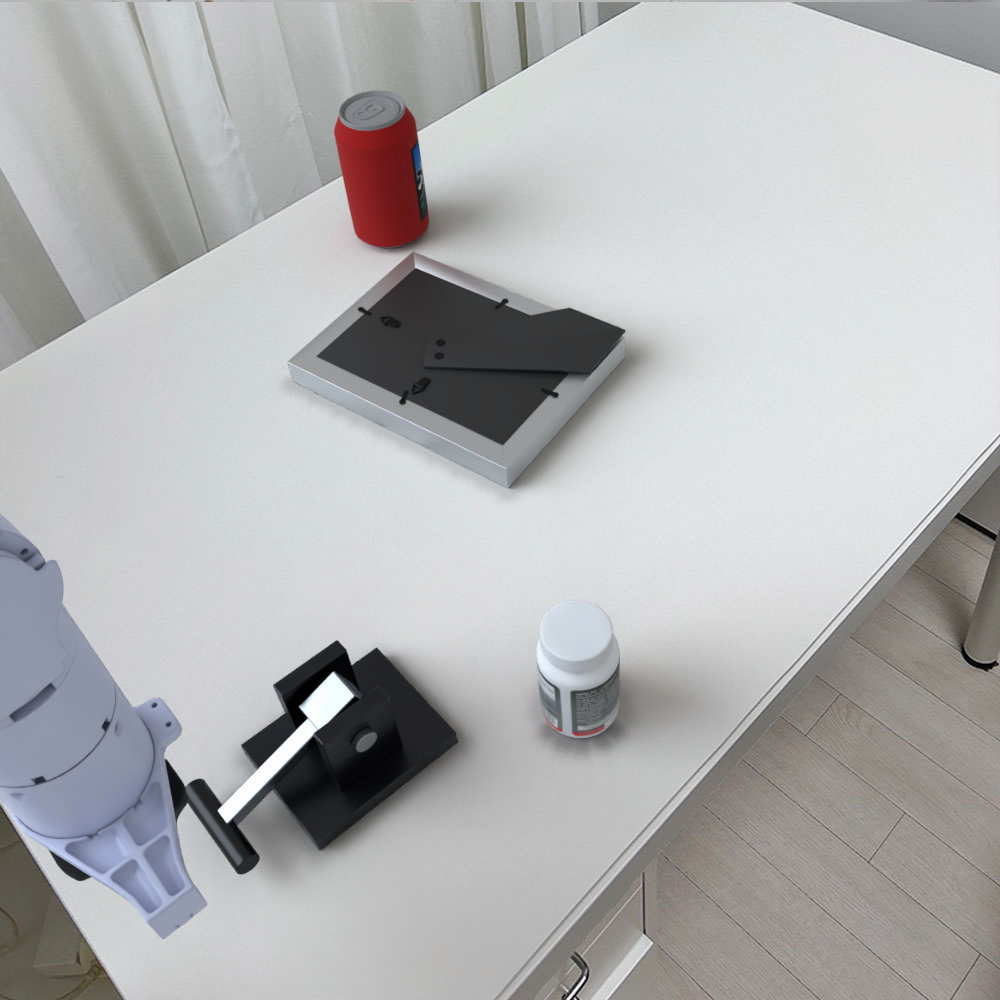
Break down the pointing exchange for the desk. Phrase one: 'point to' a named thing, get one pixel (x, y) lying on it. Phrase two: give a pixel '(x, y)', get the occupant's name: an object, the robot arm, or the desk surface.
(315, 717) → the tap lever
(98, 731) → the robot arm
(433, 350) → the picture frame
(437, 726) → the bracket
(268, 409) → the desk surface
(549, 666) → the pill bottle
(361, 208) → the beverage can
